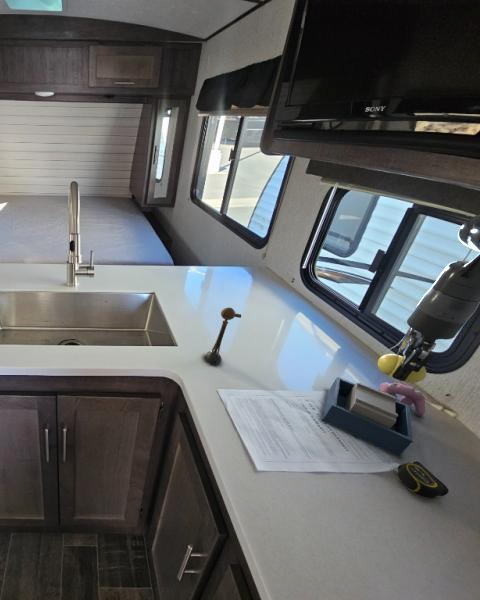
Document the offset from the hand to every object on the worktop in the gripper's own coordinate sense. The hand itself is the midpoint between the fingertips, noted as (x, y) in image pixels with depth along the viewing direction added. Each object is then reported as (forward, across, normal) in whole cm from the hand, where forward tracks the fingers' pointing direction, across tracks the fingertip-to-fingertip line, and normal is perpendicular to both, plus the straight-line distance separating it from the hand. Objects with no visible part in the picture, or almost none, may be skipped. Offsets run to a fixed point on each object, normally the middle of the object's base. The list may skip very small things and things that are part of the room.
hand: (397, 371), depth 75 cm
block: (+18, +1, 0) cm, 18 cm away
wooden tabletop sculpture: (+18, -2, +38) cm, 42 cm away
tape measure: (+18, -12, -10) cm, 24 cm away
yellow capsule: (+1, 0, 0) cm, 1 cm away
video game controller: (+18, +15, -8) cm, 25 cm away
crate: (+18, +1, 0) cm, 18 cm away
